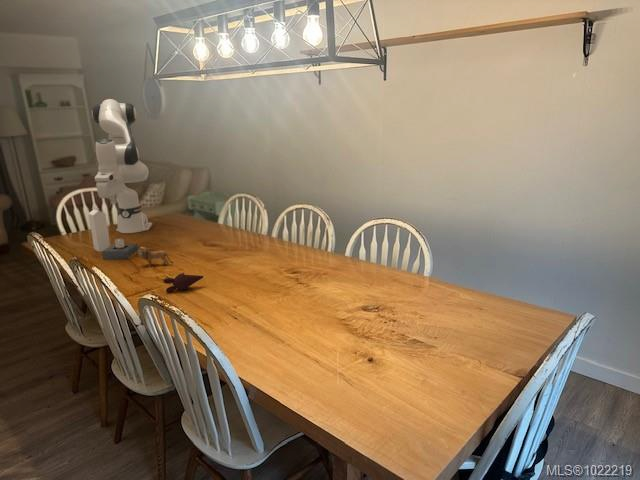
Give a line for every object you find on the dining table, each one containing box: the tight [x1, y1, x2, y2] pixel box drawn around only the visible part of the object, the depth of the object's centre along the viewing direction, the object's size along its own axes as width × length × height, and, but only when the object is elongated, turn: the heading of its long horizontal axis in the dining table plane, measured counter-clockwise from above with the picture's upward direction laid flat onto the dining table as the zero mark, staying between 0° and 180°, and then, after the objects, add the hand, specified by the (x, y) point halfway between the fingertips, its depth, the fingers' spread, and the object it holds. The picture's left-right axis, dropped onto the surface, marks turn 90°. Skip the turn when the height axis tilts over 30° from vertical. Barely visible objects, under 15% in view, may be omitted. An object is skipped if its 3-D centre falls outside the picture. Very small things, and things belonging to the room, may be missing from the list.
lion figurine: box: [137, 246, 174, 267], centre depth 205 cm, size 15×5×9 cm, turn 100°
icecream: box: [162, 272, 205, 294], centre depth 177 cm, size 7×7×15 cm
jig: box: [101, 243, 139, 260], centre depth 221 cm, size 12×13×4 cm
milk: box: [87, 206, 111, 253], centre depth 228 cm, size 6×6×22 cm
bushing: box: [114, 237, 125, 249], centre depth 220 cm, size 4×4×8 cm
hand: (114, 203), depth 216 cm, fingers closed
